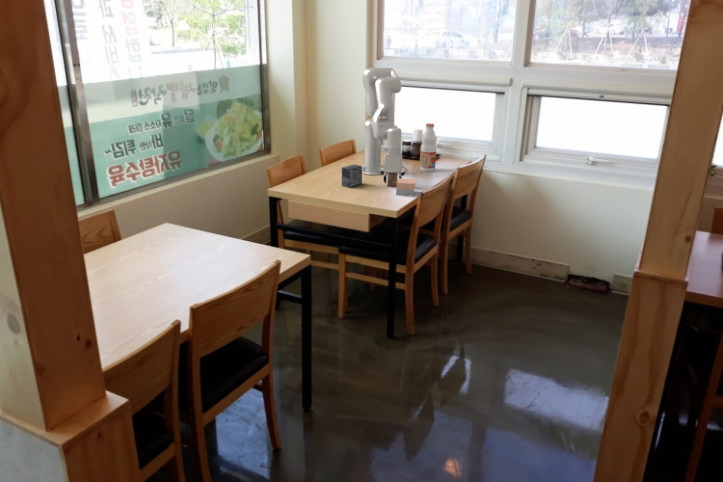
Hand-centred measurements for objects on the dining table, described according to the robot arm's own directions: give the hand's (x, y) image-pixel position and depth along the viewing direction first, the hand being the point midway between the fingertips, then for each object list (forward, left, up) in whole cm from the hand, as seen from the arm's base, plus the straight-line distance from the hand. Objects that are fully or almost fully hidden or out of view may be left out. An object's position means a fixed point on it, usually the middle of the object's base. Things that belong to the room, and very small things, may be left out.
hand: (392, 183), depth 325 cm
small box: (-22, -3, -2) cm, 22 cm away
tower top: (+8, -13, +2) cm, 16 cm away
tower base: (+8, -13, -2) cm, 15 cm away
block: (0, 0, -2) cm, 2 cm away
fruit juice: (+18, +40, -2) cm, 44 cm away
